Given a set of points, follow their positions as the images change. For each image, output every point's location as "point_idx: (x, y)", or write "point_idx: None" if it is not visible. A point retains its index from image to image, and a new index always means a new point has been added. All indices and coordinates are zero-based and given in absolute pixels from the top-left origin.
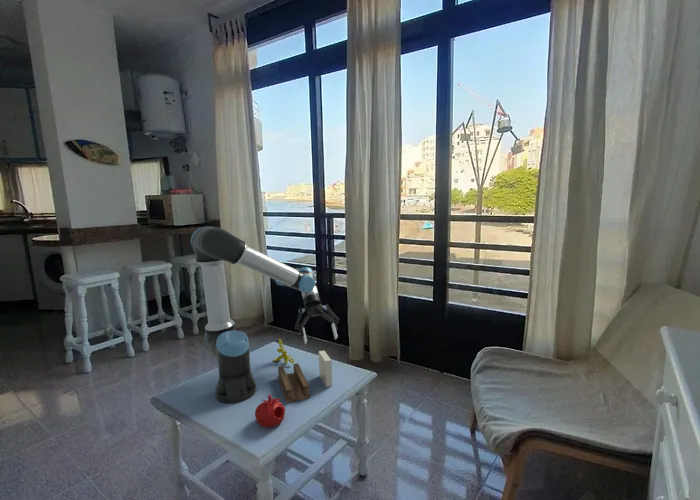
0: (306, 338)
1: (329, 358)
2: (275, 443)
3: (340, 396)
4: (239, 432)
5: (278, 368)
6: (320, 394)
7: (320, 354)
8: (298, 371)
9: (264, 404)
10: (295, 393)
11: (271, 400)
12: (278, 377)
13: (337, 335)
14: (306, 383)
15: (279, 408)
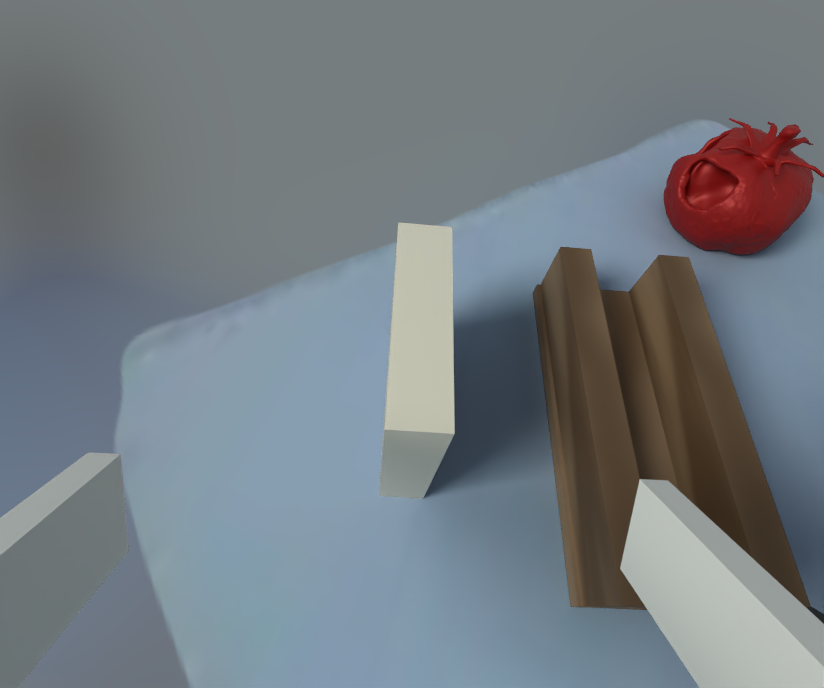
0: (675, 511)
1: (401, 251)
2: (674, 136)
3: (388, 245)
4: (813, 217)
5: (799, 587)
6: (476, 298)
7: (453, 362)
8: (619, 438)
9: (788, 152)
10: (613, 330)
11: (763, 160)
12: None
13: (79, 462)
14: (574, 270)
15: (703, 167)
